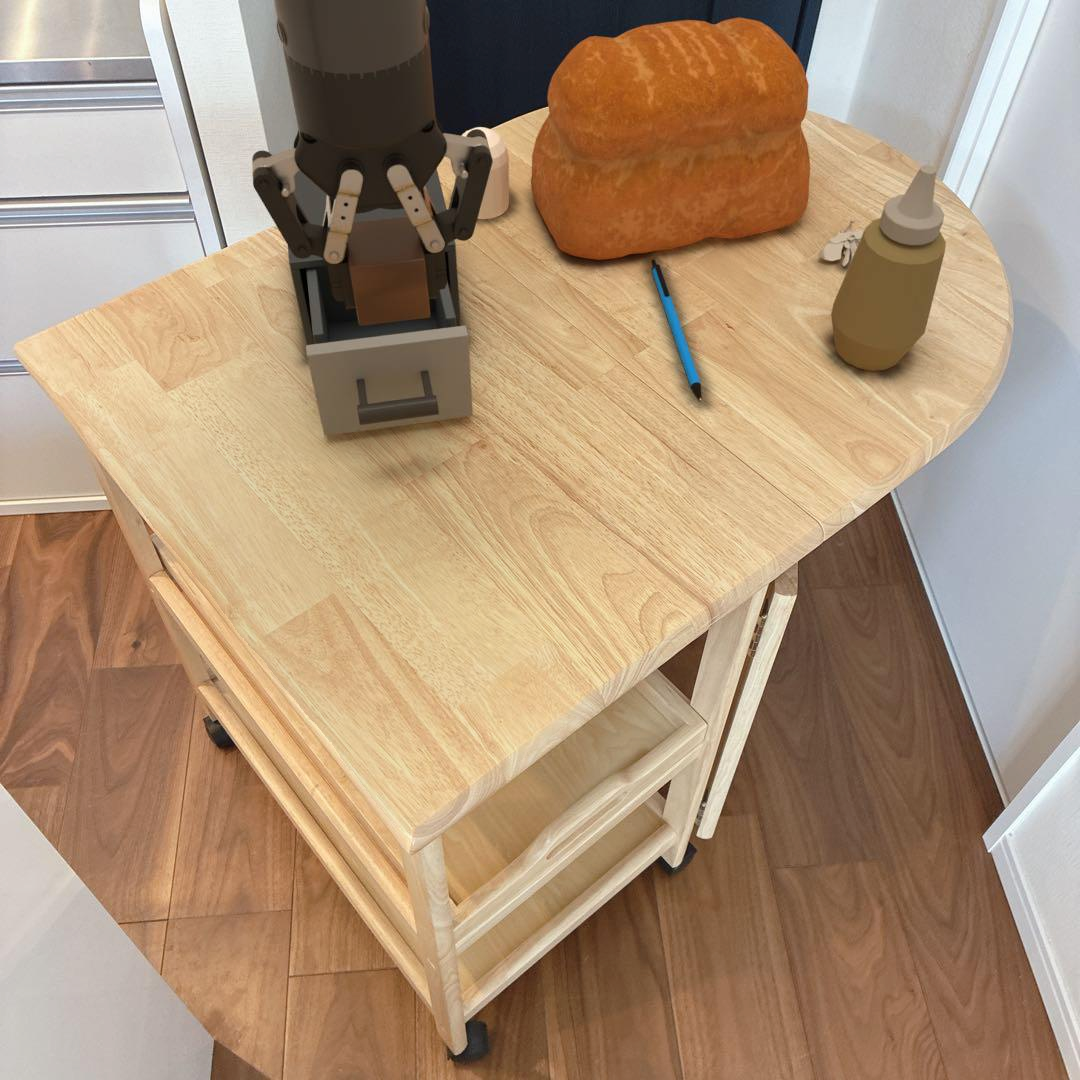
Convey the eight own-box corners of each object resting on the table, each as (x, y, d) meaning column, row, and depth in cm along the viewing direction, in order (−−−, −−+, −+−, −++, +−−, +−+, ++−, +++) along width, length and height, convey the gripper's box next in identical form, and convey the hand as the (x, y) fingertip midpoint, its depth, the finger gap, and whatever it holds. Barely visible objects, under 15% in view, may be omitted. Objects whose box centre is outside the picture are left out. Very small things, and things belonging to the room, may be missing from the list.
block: (359, 326, 66) (349, 267, 63) (353, 281, 69) (344, 222, 65) (430, 317, 67) (424, 259, 63) (422, 273, 69) (416, 214, 66)
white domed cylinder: (520, 202, 107) (519, 130, 101) (483, 226, 105) (480, 153, 98) (482, 182, 109) (479, 109, 103) (445, 204, 107) (440, 131, 100)
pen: (657, 264, 101) (658, 254, 101) (705, 403, 90) (706, 393, 89) (648, 265, 101) (649, 255, 101) (694, 404, 90) (696, 394, 89)
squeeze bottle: (924, 338, 95) (994, 157, 81) (899, 393, 91) (968, 212, 76) (838, 309, 97) (891, 129, 83) (809, 362, 93) (860, 181, 79)
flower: (909, 288, 101) (920, 267, 99) (831, 299, 100) (839, 279, 97) (881, 230, 104) (890, 209, 102) (805, 240, 103) (812, 219, 101)
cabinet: (461, 341, 94) (455, 244, 86) (310, 360, 92) (289, 262, 84) (439, 244, 103) (431, 146, 95) (300, 259, 101) (280, 162, 93)
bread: (816, 232, 105) (860, 63, 91) (564, 276, 100) (570, 104, 86) (753, 147, 114) (784, -19, 100) (519, 183, 109) (519, 15, 96)
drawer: (481, 454, 85) (477, 373, 78) (328, 475, 83) (310, 395, 76) (449, 312, 95) (443, 230, 88) (312, 328, 94) (296, 246, 87)
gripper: (482, -15, 57) (492, 248, 71) (213, 7, 56) (276, 271, 69) (504, 54, 53) (510, 321, 66) (212, 80, 51) (279, 348, 65)
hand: (390, 294), depth 67 cm, fingers closed on block, 4 cm apart
